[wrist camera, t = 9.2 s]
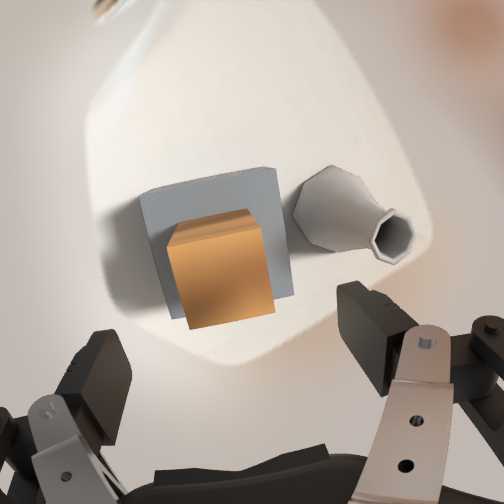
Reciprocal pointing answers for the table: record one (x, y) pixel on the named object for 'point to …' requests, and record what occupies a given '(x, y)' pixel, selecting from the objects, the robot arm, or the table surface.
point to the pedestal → (211, 203)
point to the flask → (351, 217)
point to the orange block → (221, 269)
